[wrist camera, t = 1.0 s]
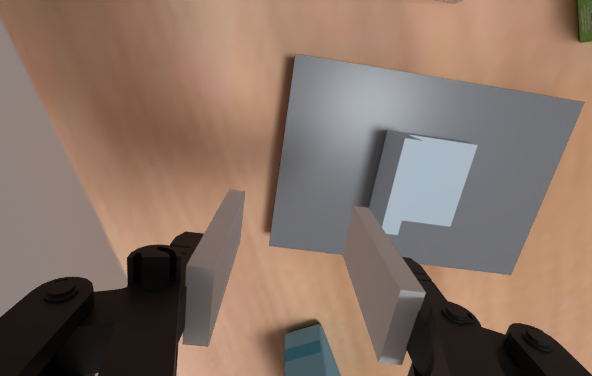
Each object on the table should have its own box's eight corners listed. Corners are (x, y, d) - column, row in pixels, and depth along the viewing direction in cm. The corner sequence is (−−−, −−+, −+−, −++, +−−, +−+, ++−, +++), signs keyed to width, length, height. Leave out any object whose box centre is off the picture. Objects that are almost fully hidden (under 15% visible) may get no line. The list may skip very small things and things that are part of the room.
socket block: (294, 57, 28) (295, 53, 25) (556, 100, 30) (584, 102, 27) (270, 232, 34) (269, 245, 31) (493, 259, 36) (511, 274, 33)
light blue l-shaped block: (387, 130, 27) (405, 138, 23) (472, 143, 28) (504, 153, 24) (367, 212, 30) (380, 233, 26) (446, 223, 30) (471, 244, 26)
